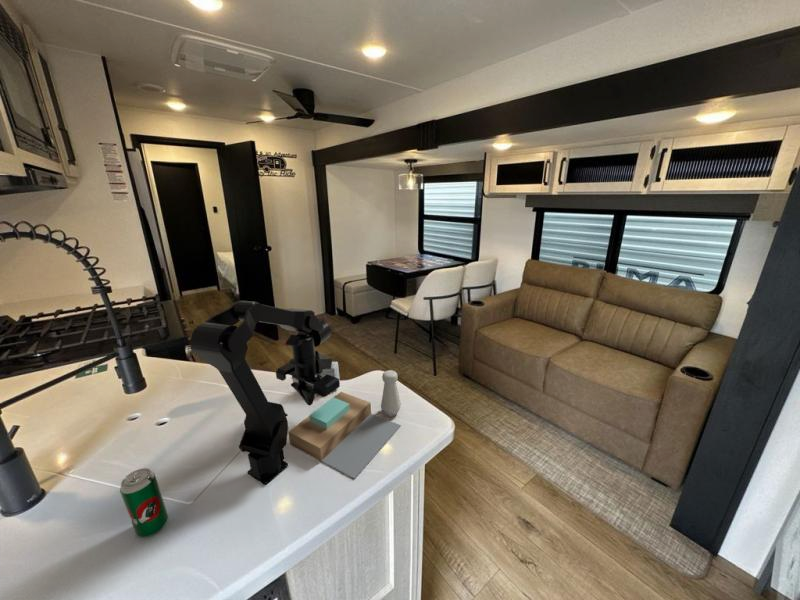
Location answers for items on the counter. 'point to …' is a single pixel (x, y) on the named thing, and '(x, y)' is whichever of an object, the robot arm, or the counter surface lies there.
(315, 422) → the teal rectangular block
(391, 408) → the salt shaker
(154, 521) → the soda can
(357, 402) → the deck
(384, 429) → the mat
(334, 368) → the medicine box
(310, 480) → the counter surface
